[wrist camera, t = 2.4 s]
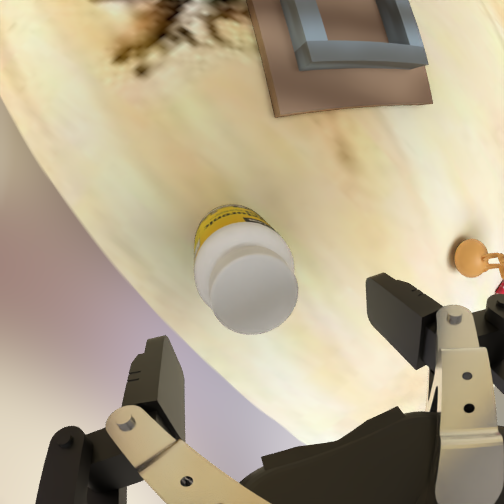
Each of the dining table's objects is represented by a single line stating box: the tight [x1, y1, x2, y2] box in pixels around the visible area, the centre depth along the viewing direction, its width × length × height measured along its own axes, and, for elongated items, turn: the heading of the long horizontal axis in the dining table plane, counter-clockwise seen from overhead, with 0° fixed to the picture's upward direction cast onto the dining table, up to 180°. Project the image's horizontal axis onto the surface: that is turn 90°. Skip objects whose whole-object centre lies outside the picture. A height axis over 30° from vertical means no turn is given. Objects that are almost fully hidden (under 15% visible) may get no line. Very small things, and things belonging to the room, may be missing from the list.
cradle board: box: [246, 0, 433, 118], centre depth 17 cm, size 16×14×4 cm
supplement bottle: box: [194, 205, 298, 334], centre depth 18 cm, size 5×5×10 cm
